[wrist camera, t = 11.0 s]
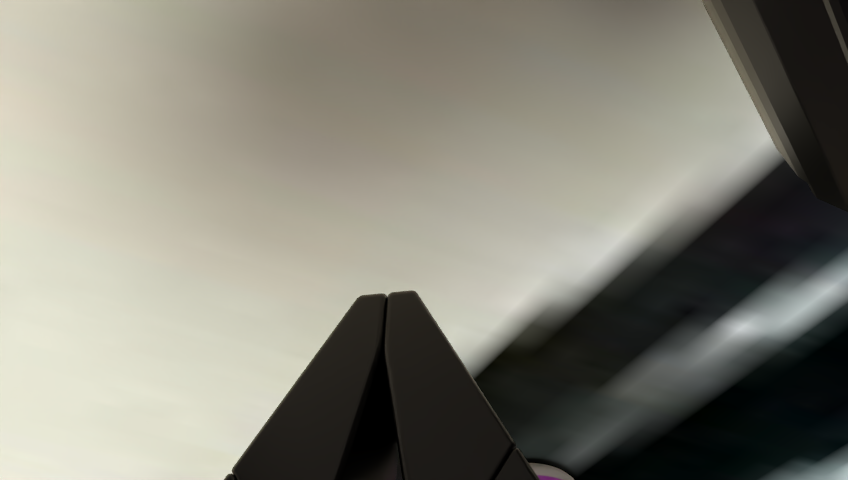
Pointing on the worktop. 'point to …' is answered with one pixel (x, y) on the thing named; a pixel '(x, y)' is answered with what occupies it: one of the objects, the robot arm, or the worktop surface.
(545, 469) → the supplement bottle
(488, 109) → the worktop surface
